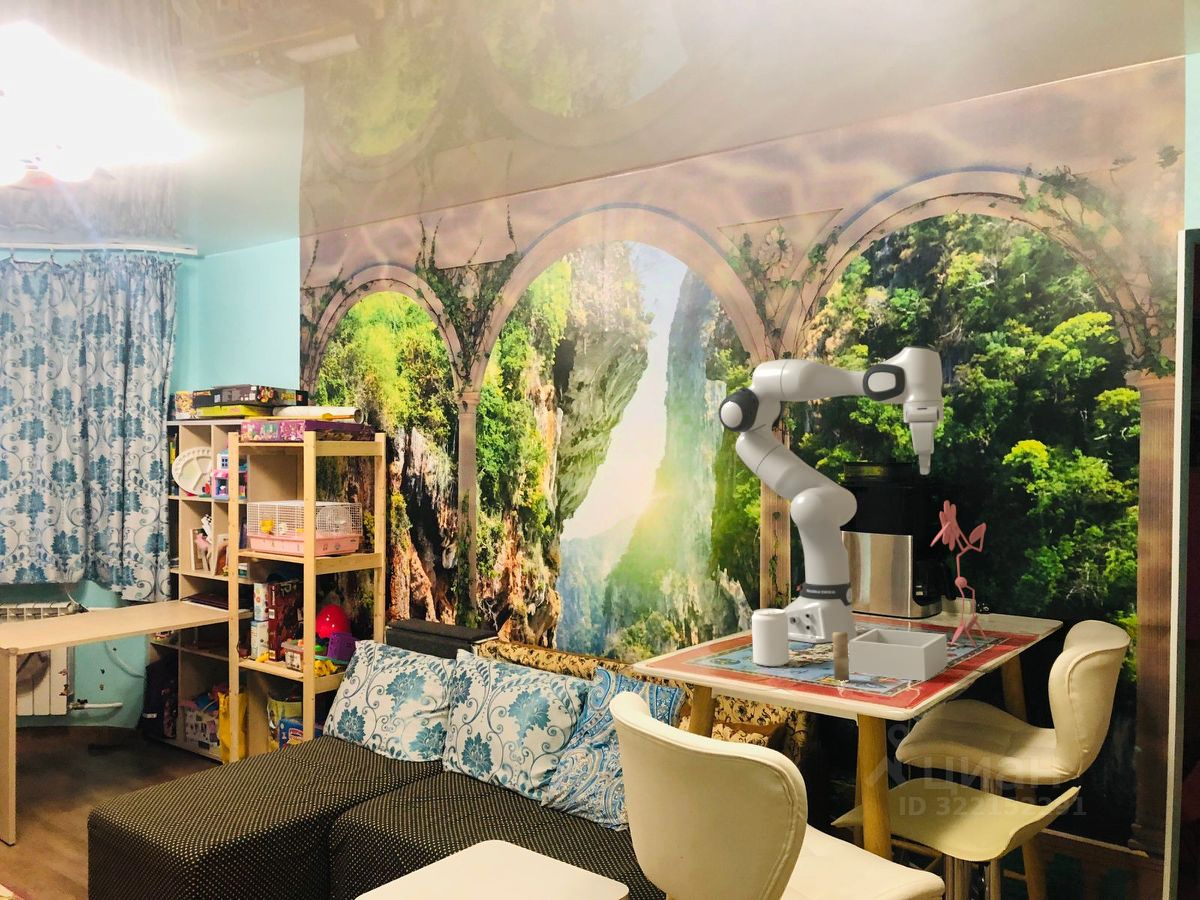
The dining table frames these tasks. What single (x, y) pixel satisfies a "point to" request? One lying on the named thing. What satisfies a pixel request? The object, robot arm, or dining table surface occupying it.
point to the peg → (840, 656)
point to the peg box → (898, 654)
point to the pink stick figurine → (949, 535)
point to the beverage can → (770, 637)
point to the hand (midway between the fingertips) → (925, 473)
